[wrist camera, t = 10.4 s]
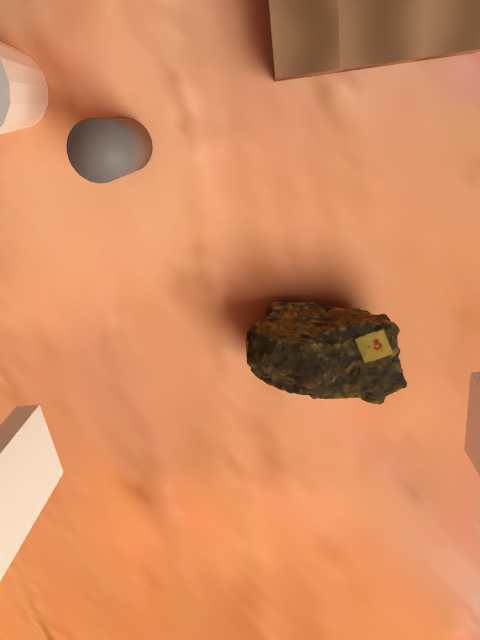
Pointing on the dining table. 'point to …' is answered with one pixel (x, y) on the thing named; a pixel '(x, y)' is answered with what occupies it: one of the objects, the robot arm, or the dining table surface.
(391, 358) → the rock
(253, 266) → the dining table surface
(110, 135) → the short dowel
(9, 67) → the shot glass
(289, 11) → the hole block
